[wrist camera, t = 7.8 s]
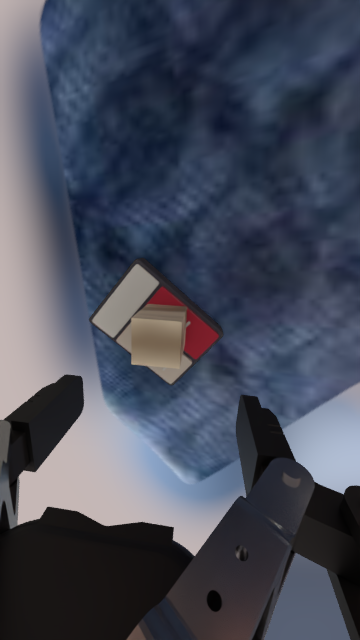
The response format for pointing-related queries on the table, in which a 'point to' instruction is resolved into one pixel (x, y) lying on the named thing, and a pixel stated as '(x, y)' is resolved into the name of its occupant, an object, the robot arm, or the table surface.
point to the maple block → (158, 336)
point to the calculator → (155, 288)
